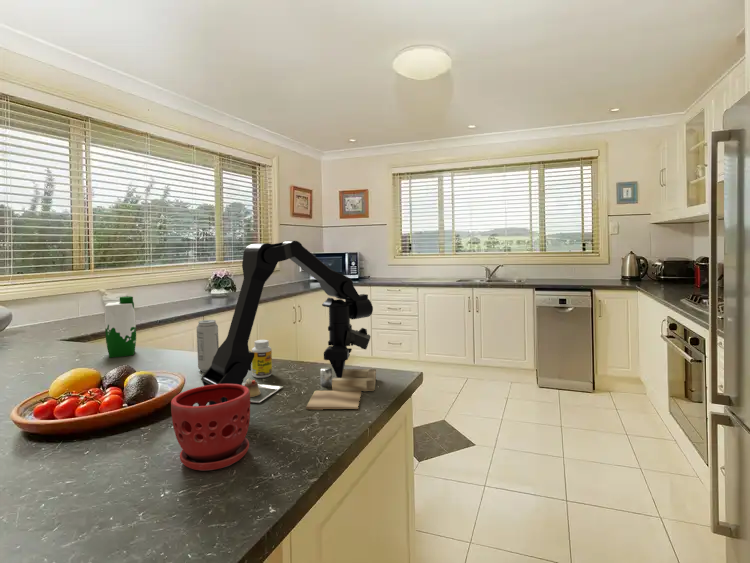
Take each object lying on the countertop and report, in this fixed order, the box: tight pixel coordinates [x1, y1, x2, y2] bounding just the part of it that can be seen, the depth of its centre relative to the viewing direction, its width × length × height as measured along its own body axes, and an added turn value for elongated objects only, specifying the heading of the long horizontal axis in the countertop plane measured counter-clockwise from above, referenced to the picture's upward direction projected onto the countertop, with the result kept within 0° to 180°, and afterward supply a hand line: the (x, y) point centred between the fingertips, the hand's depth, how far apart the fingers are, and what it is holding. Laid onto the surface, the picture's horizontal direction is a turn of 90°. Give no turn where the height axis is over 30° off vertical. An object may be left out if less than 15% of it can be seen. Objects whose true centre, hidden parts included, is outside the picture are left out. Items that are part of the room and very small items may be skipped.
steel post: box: [320, 366, 333, 388], centre depth 116 cm, size 3×3×4 cm
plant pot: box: [170, 384, 251, 471], centre depth 77 cm, size 13×13×12 cm
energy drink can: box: [196, 319, 220, 373], centre depth 130 cm, size 6×6×15 cm
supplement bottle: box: [251, 339, 273, 379], centre depth 125 cm, size 6×6×10 cm
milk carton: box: [104, 295, 137, 359], centre depth 149 cm, size 9×9×20 cm
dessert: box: [242, 377, 284, 404], centre depth 110 cm, size 12×12×5 cm
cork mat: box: [305, 390, 362, 410], centre depth 105 cm, size 11×12×1 cm
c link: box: [331, 368, 377, 392], centre depth 116 cm, size 11×10×3 cm
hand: (340, 376), depth 120 cm, fingers closed on c link, 2 cm apart
